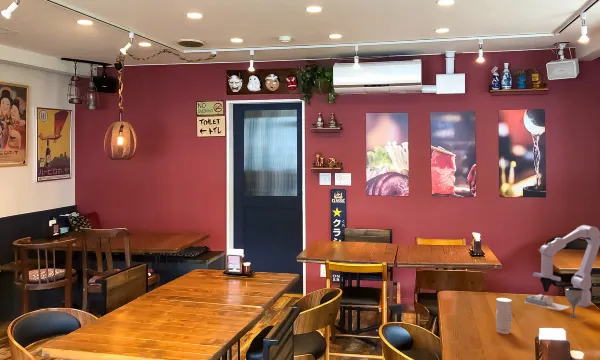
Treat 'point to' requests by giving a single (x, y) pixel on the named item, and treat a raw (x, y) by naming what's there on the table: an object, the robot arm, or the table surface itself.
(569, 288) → the wine glass
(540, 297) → the bottle
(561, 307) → the cradle
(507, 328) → the candle
